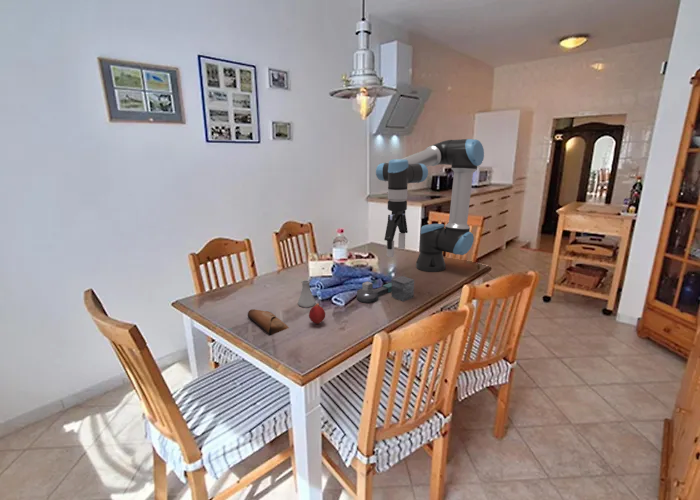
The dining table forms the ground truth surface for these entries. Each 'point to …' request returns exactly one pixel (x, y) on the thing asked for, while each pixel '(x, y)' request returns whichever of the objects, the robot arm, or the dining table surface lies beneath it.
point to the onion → (317, 314)
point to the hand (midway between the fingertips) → (396, 252)
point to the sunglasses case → (267, 321)
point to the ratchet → (372, 292)
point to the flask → (306, 296)
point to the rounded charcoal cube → (402, 288)
